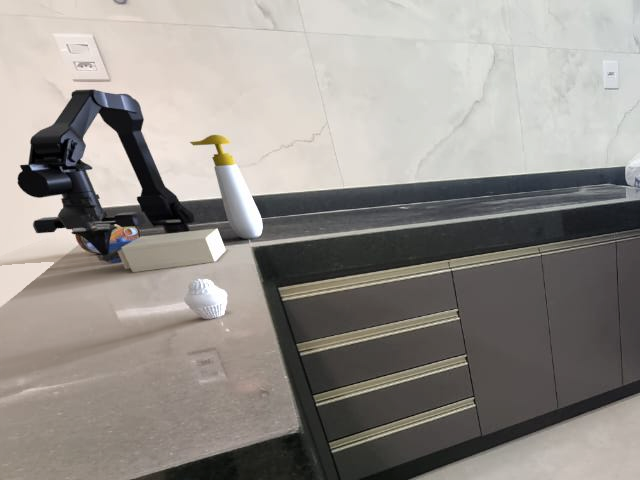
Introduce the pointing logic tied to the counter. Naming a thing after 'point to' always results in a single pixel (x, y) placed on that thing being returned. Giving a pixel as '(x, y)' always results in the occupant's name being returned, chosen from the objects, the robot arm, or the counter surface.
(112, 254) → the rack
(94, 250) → the tin
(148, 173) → the robot arm
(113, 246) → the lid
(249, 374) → the counter surface
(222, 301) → the muffin
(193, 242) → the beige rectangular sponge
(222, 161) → the soap bottle
